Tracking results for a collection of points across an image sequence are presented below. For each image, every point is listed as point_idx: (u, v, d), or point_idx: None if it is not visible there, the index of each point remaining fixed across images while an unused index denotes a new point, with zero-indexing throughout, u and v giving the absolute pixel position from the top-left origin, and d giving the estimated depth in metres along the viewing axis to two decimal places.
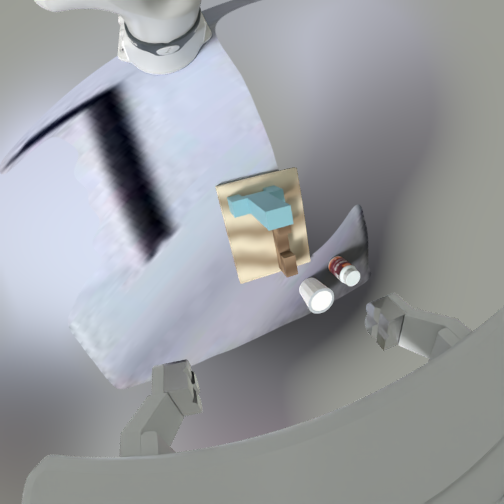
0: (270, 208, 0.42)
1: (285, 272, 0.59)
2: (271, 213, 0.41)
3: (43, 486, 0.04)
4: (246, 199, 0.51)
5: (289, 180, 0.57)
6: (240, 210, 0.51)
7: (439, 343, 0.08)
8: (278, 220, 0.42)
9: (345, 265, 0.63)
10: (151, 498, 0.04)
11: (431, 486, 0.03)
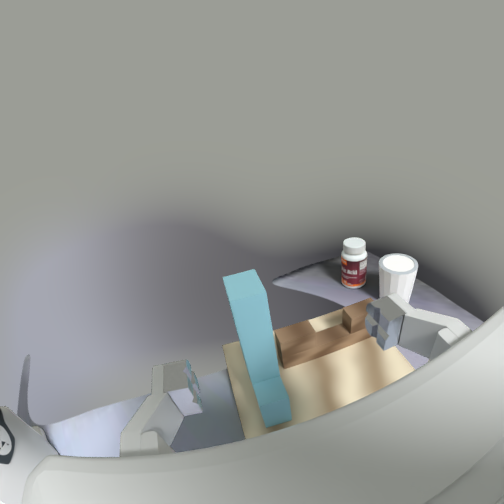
0: (230, 304, 0.23)
1: None
2: (233, 294, 0.23)
3: (43, 486, 0.04)
4: (254, 385, 0.27)
5: (239, 350, 0.38)
6: (275, 390, 0.26)
7: (439, 343, 0.08)
8: (246, 285, 0.24)
9: (344, 260, 0.48)
10: (151, 498, 0.04)
11: (431, 486, 0.03)
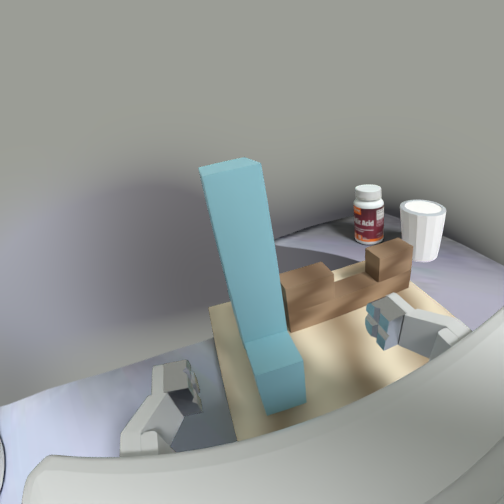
0: (205, 192, 0.15)
1: (406, 254, 0.25)
2: (209, 172, 0.14)
3: (43, 486, 0.04)
4: (248, 344, 0.18)
5: (230, 312, 0.29)
6: (280, 351, 0.17)
7: (439, 343, 0.08)
8: (231, 164, 0.15)
9: (357, 209, 0.39)
10: (151, 498, 0.04)
11: (431, 486, 0.03)
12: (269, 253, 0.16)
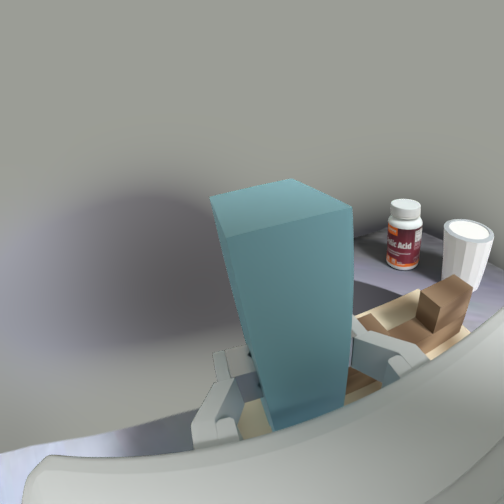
0: (228, 260, 0.07)
1: (465, 297, 0.17)
2: (238, 221, 0.07)
3: (43, 486, 0.04)
4: None
5: None
6: None
7: (389, 372, 0.08)
8: (279, 200, 0.08)
9: (393, 229, 0.31)
10: (151, 498, 0.04)
11: (431, 486, 0.03)
12: (339, 358, 0.08)
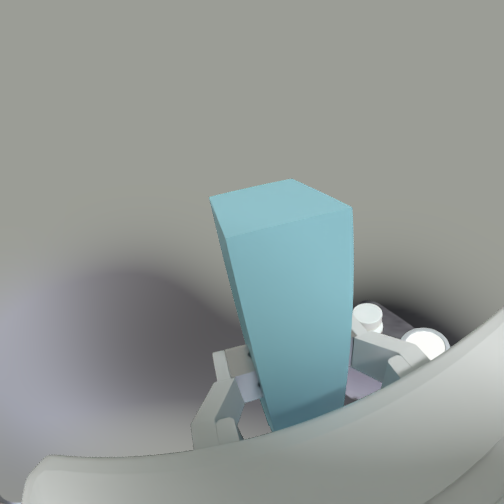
0: (228, 261, 0.07)
1: None
2: (238, 221, 0.07)
3: (43, 486, 0.04)
4: None
5: None
6: None
7: (389, 372, 0.08)
8: (279, 200, 0.08)
9: None
10: (151, 498, 0.04)
11: (431, 486, 0.03)
12: (339, 359, 0.08)
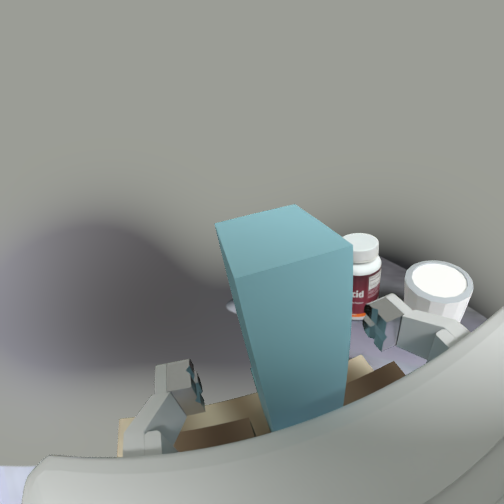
0: (235, 292, 0.08)
1: None
2: (245, 258, 0.07)
3: (43, 486, 0.04)
4: None
5: None
6: None
7: (437, 344, 0.08)
8: (283, 232, 0.08)
9: None
10: (151, 498, 0.04)
11: (431, 486, 0.03)
12: (338, 377, 0.09)
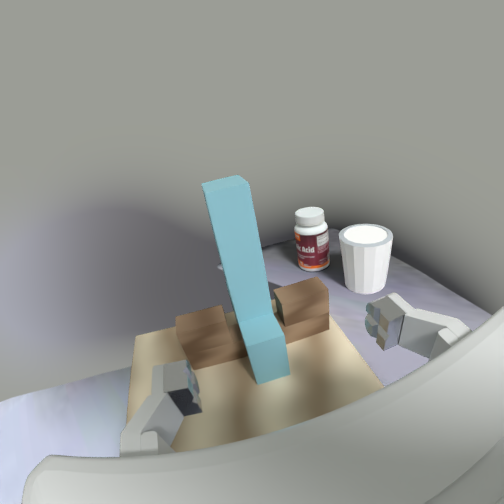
0: (207, 204, 0.20)
1: (319, 297, 0.25)
2: (210, 189, 0.19)
3: (43, 486, 0.04)
4: (241, 323, 0.23)
5: (151, 343, 0.29)
6: (267, 328, 0.22)
7: (439, 343, 0.08)
8: (226, 182, 0.20)
9: (296, 234, 0.39)
10: (151, 498, 0.04)
11: (431, 486, 0.03)
12: (256, 250, 0.21)
